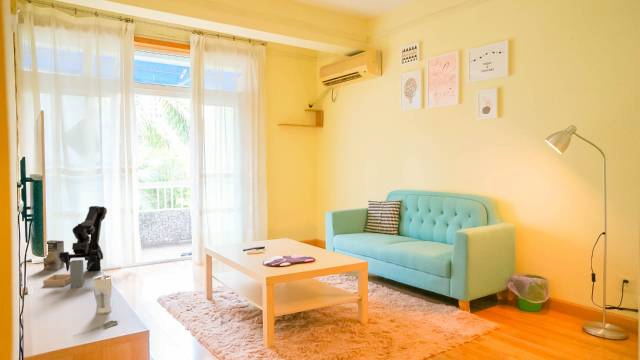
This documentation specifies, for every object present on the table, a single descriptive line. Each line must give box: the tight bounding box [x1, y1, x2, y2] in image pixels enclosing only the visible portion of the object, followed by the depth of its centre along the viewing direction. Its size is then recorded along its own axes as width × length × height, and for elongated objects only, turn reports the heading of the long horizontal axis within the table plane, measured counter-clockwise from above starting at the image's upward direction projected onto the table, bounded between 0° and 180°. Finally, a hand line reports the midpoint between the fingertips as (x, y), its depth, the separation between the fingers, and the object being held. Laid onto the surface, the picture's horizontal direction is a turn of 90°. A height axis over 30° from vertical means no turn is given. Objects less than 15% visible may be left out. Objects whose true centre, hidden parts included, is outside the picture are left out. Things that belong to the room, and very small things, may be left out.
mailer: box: [42, 273, 71, 287], centre depth 231 cm, size 11×17×3 cm, turn 4°
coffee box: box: [42, 239, 65, 271], centre depth 256 cm, size 9×6×16 cm
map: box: [73, 320, 118, 336], centre depth 167 cm, size 5×20×1 cm, turn 150°
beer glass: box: [93, 275, 113, 315], centre depth 187 cm, size 7×7×15 cm
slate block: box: [69, 259, 85, 289], centre depth 222 cm, size 5×4×13 cm
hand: (77, 270), depth 223 cm, fingers open, 9 cm apart
